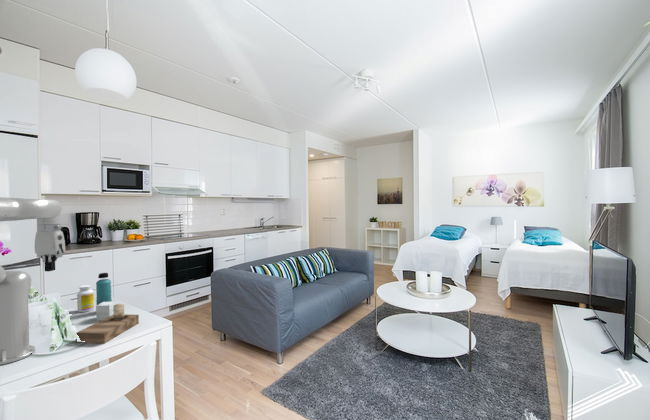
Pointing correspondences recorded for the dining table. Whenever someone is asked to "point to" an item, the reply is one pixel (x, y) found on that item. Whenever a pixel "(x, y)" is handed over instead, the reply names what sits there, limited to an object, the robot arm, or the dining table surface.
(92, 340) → the walnut board
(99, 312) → the skincare box
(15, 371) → the dining table surface
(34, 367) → the dining table surface
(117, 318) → the beech peg
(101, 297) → the beverage bottle
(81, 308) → the supplement bottle
